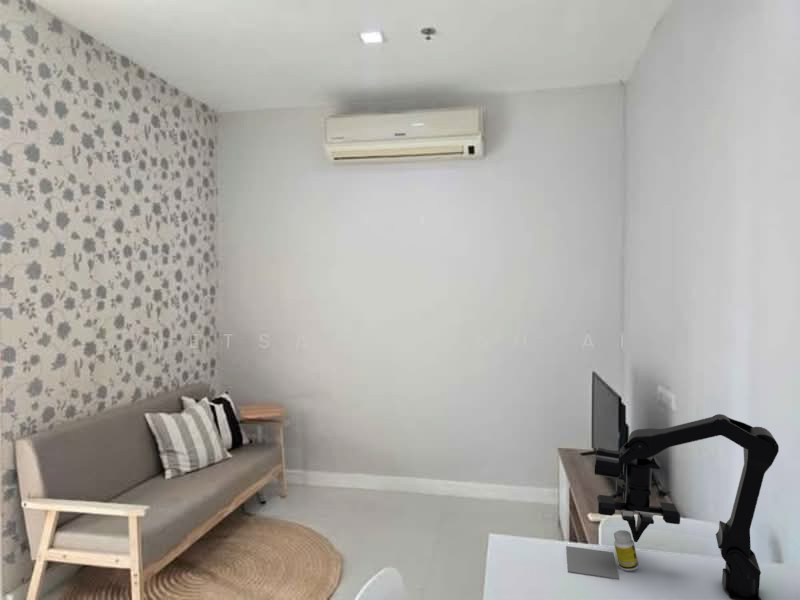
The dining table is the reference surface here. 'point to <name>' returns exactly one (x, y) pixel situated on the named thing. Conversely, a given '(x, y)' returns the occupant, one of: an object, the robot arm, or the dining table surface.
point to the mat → (591, 562)
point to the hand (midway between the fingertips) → (635, 541)
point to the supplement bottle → (625, 550)
